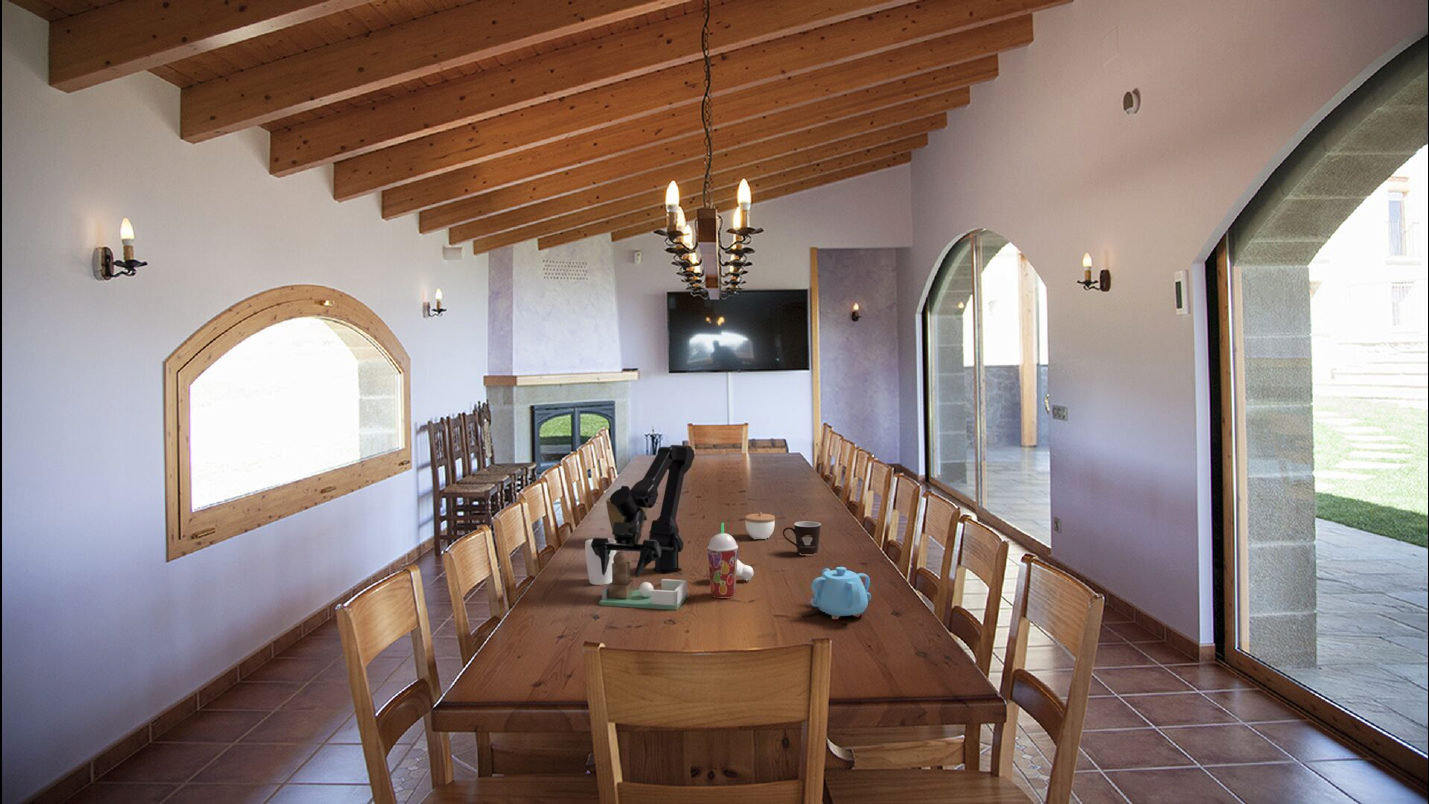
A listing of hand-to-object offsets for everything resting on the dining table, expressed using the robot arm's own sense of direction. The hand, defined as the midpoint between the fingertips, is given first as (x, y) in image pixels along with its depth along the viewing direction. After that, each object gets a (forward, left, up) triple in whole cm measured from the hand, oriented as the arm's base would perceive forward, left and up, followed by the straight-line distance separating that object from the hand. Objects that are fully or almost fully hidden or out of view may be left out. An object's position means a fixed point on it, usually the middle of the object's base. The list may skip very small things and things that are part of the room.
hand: (619, 575), depth 214 cm
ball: (-5, +5, -4) cm, 8 cm away
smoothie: (-24, +14, -7) cm, 29 cm away
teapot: (-38, +44, -7) cm, 59 cm away
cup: (-5, -19, -7) cm, 21 cm away
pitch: (-5, +4, -7) cm, 10 cm away
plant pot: (-36, -54, -7) cm, 65 cm away
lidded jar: (-77, -31, -7) cm, 83 cm away
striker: (-1, -1, -6) cm, 6 cm away
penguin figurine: (-35, +5, -7) cm, 36 cm away
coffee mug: (-73, -5, -7) cm, 74 cm away
